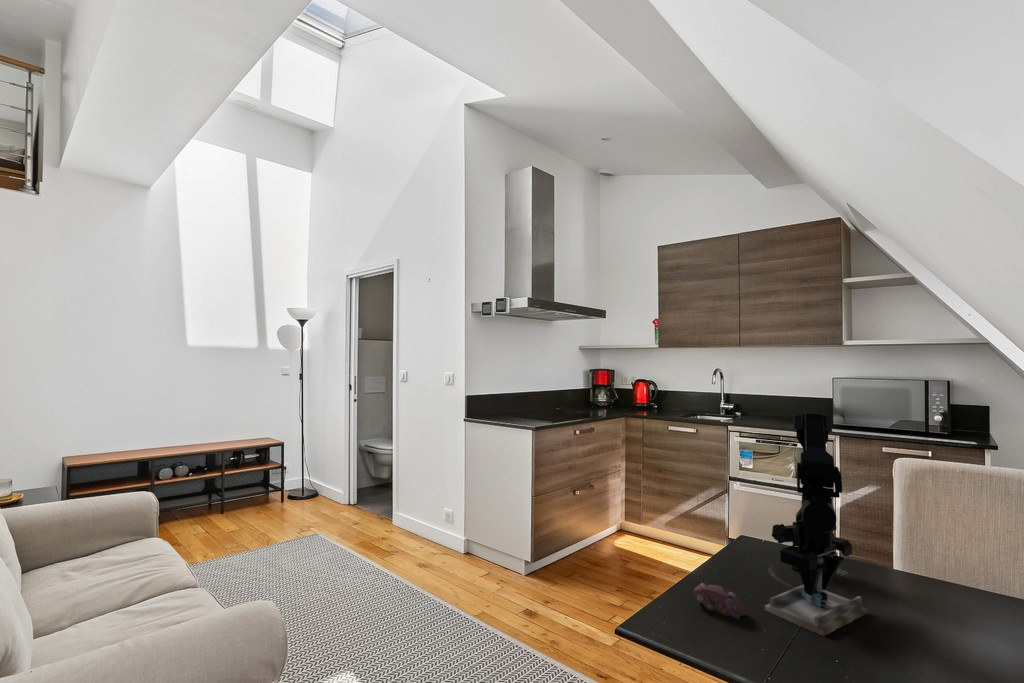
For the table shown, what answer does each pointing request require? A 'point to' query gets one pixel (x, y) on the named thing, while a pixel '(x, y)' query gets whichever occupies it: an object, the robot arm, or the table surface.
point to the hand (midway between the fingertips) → (816, 591)
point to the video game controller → (719, 599)
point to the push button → (818, 589)
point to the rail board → (816, 611)
